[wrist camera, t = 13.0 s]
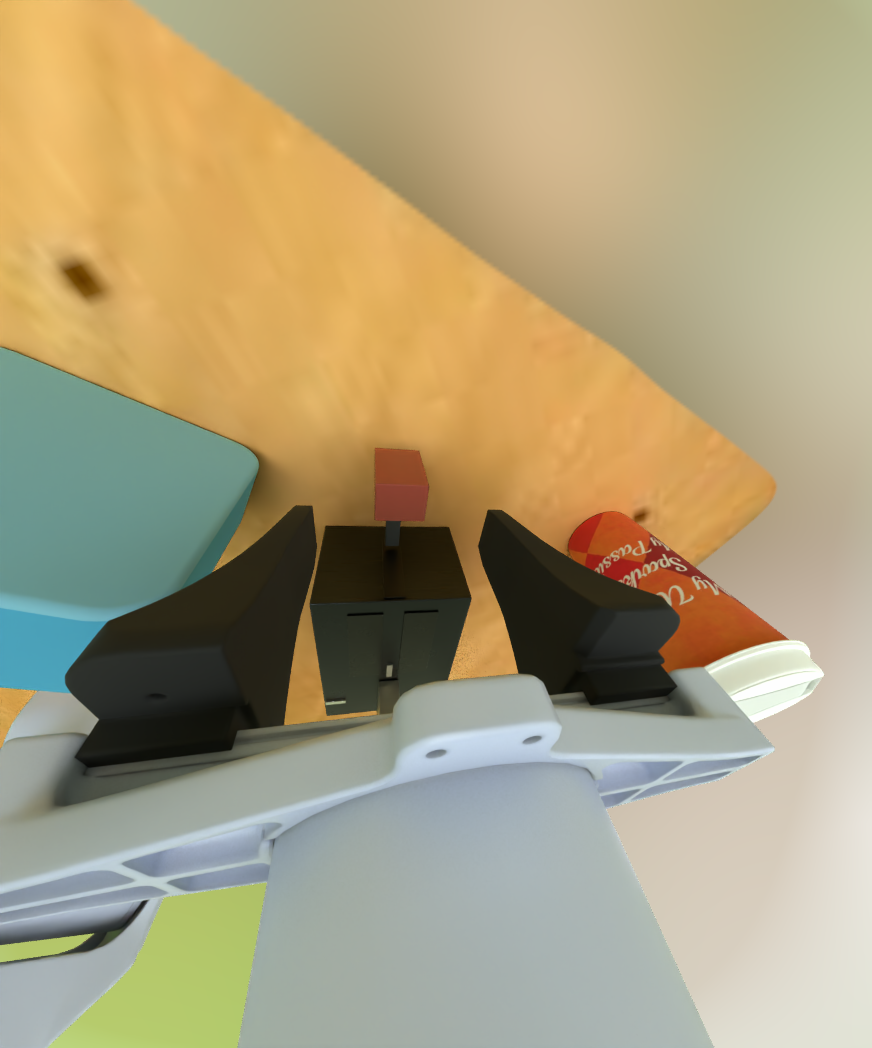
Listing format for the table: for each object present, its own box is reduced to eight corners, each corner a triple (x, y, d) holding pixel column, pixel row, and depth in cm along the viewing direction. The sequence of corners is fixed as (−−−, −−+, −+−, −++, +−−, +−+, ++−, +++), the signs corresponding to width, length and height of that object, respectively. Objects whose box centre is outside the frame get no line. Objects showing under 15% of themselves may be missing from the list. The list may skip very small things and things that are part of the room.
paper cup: (638, 483, 24) (861, 645, 13) (645, 545, 29) (815, 705, 18) (544, 529, 26) (675, 711, 14) (565, 581, 30) (676, 751, 19)
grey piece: (394, 709, 25) (397, 760, 22) (376, 711, 25) (377, 763, 22) (398, 679, 22) (402, 733, 20) (378, 681, 22) (379, 736, 19)
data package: (-20, 422, 15) (-663, 636, 6) (-33, 329, 13) (-1047, 424, 4) (248, 510, 20) (138, 702, 11) (267, 453, 18) (154, 626, 9)
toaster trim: (354, 610, 25) (350, 677, 21) (352, 538, 21) (346, 603, 17) (417, 608, 26) (426, 670, 22) (427, 539, 22) (441, 599, 18)
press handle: (373, 542, 21) (373, 588, 17) (375, 447, 17) (375, 483, 14) (409, 542, 21) (415, 586, 18) (419, 450, 17) (429, 485, 14)
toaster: (336, 649, 31) (328, 730, 25) (325, 525, 22) (308, 606, 16) (426, 643, 33) (437, 717, 27) (449, 527, 24) (472, 600, 18)
